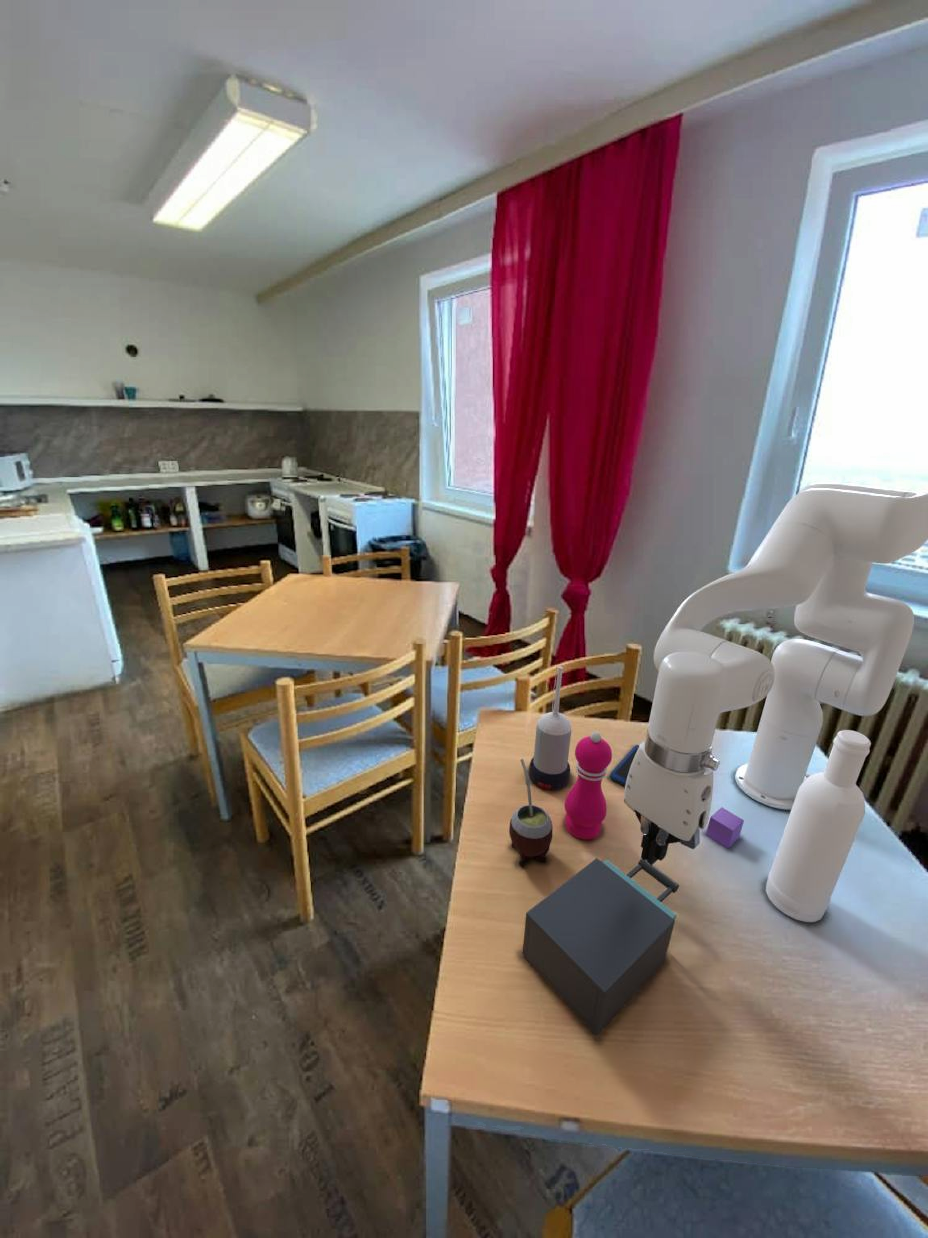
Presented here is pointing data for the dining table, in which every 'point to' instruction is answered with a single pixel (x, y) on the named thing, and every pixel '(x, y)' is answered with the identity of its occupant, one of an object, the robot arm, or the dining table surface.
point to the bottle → (820, 832)
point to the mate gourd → (530, 829)
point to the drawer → (656, 874)
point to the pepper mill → (588, 788)
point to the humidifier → (552, 747)
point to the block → (724, 827)
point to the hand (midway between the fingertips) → (652, 856)
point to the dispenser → (596, 942)
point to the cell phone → (624, 767)
